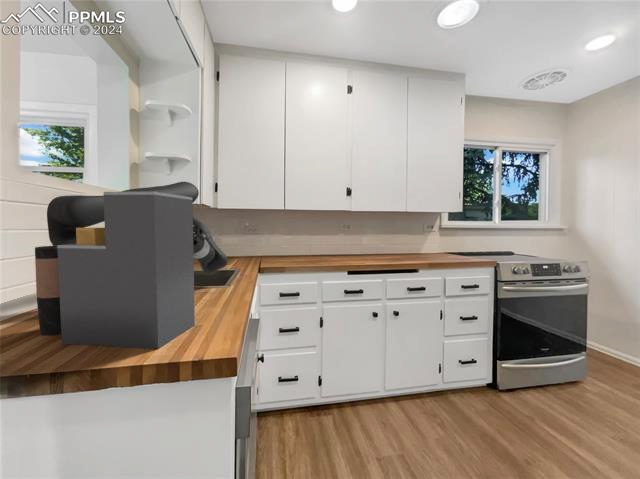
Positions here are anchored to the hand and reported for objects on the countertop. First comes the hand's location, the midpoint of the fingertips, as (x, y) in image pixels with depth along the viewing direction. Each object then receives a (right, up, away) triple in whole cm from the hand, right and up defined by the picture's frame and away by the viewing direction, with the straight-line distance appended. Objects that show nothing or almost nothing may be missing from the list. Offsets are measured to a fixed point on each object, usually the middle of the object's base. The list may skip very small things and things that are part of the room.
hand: (169, 221), depth 90 cm
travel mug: (-16, -27, -20) cm, 37 cm away
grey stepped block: (+3, -27, -22) cm, 35 cm away
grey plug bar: (-2, -6, -17) cm, 18 cm away
